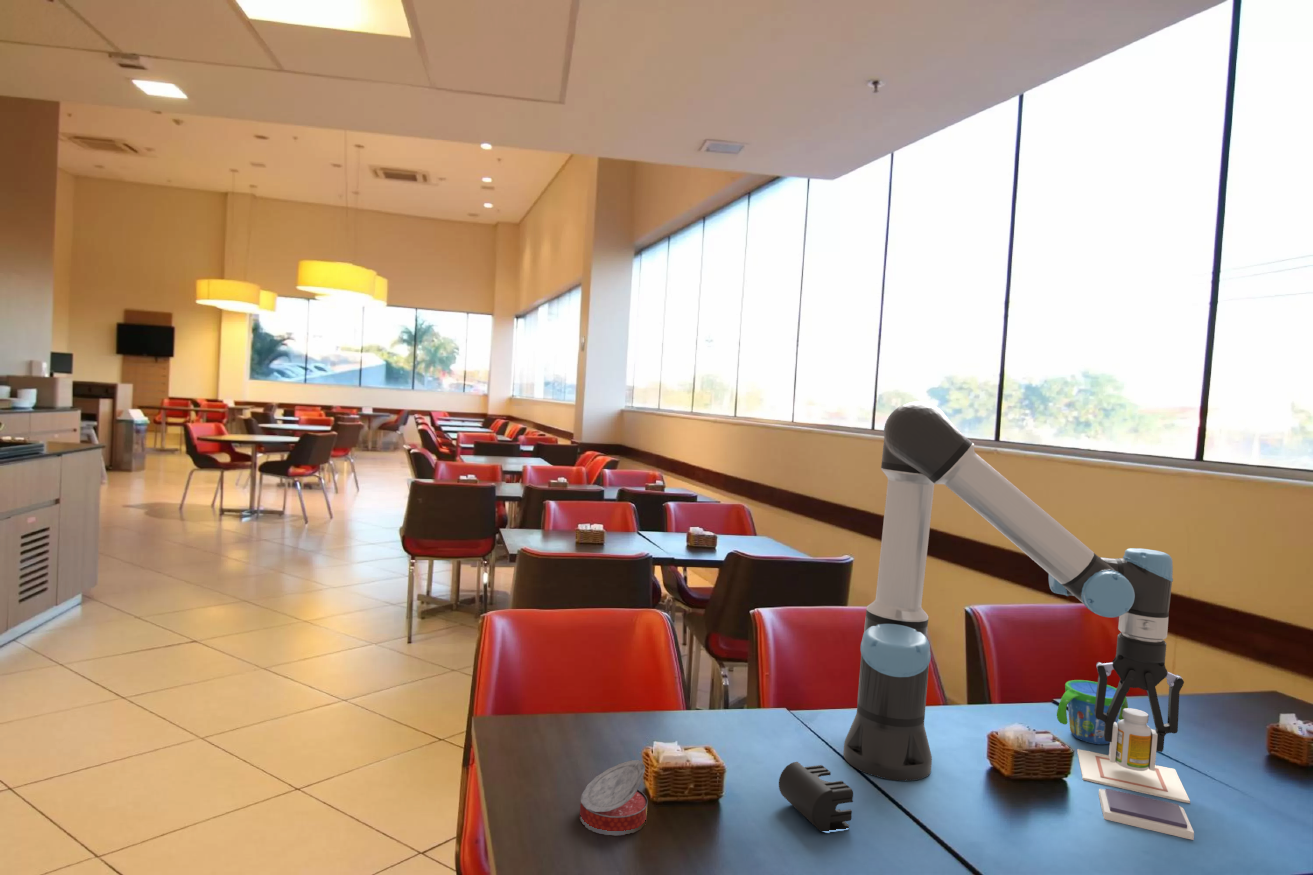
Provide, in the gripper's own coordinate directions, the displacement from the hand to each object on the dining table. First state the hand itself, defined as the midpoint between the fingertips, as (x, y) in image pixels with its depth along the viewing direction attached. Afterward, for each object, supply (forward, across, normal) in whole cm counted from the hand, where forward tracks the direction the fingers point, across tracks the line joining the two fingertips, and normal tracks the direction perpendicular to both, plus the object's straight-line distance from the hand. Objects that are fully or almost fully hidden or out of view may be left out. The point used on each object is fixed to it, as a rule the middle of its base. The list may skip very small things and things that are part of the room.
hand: (1131, 763), depth 145 cm
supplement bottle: (+1, 0, 0) cm, 1 cm away
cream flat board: (+2, 0, 0) cm, 2 cm away
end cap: (+2, -47, -46) cm, 66 cm away
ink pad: (+2, 0, -17) cm, 17 cm away
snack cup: (+3, -5, +16) cm, 17 cm away
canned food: (+2, -73, -62) cm, 96 cm away
